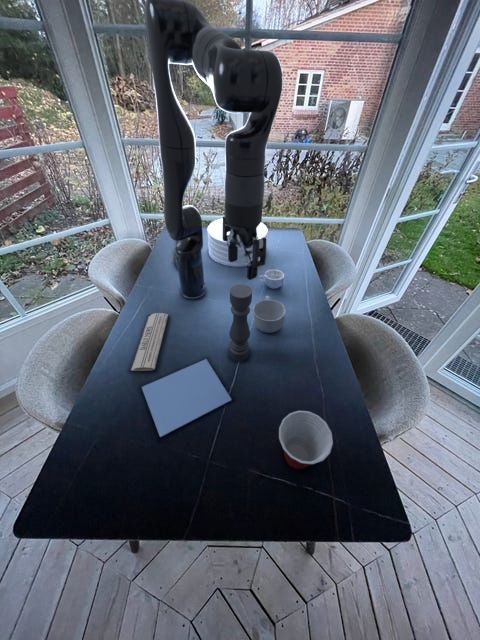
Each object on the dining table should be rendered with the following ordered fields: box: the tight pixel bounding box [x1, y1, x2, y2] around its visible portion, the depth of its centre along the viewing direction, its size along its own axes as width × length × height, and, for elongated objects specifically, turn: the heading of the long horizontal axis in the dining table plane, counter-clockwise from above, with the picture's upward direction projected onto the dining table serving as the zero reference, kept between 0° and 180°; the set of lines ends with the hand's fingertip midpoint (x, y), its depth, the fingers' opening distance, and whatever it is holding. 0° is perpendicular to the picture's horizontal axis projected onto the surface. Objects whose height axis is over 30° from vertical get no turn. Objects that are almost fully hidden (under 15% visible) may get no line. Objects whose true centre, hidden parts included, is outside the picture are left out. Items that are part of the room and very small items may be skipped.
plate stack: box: [206, 217, 269, 268], centre depth 126 cm, size 28×28×12 cm
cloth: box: [141, 358, 233, 438], centre depth 73 cm, size 16×20×1 cm
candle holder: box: [228, 283, 253, 363], centre depth 75 cm, size 6×6×25 cm
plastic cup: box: [278, 410, 334, 470], centre depth 58 cm, size 11×11×12 cm
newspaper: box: [130, 312, 169, 372], centre depth 86 cm, size 24×7×2 cm, turn 2°
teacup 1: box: [258, 269, 285, 290], centre depth 109 cm, size 10×8×5 cm
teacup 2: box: [252, 295, 287, 334], centre depth 91 cm, size 14×11×8 cm
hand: (241, 269), depth 62 cm, fingers open, 8 cm apart
